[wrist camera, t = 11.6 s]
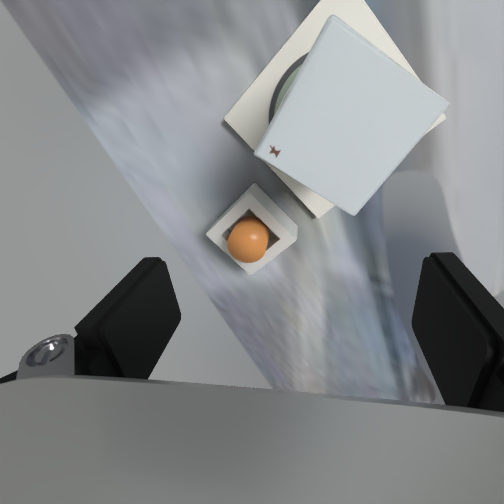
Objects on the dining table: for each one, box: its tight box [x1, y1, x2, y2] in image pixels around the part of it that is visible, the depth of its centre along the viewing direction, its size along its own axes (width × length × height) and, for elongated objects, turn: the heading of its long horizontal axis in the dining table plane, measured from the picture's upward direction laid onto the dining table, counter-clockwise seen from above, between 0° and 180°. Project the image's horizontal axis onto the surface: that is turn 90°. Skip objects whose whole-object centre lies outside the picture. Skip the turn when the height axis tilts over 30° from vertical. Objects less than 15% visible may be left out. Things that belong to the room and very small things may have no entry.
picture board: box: [224, 0, 446, 218], centre depth 26 cm, size 14×14×1 cm
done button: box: [227, 216, 270, 263], centre depth 30 cm, size 4×4×3 cm
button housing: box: [205, 182, 298, 275], centre depth 32 cm, size 7×7×4 cm
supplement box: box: [254, 14, 450, 216], centre depth 20 cm, size 7×7×13 cm
